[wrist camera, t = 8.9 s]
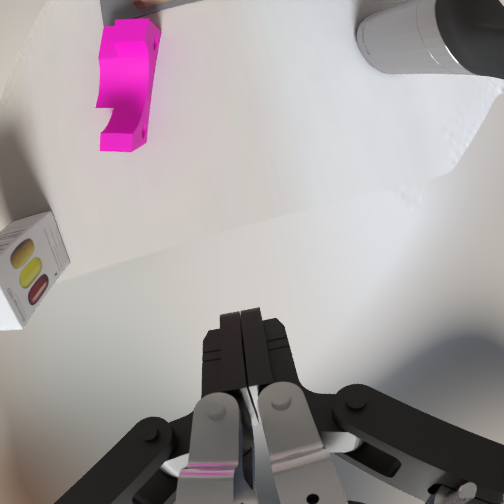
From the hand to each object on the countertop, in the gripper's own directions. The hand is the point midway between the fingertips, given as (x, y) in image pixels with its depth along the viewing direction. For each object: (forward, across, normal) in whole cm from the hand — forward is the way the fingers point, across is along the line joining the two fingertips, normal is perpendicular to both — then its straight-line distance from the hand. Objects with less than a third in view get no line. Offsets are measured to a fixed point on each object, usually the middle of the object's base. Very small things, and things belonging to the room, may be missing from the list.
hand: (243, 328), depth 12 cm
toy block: (+32, +10, -13) cm, 36 cm away
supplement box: (+31, +32, +4) cm, 45 cm away
